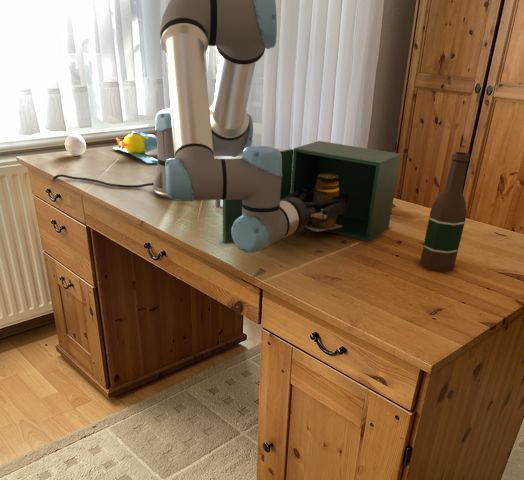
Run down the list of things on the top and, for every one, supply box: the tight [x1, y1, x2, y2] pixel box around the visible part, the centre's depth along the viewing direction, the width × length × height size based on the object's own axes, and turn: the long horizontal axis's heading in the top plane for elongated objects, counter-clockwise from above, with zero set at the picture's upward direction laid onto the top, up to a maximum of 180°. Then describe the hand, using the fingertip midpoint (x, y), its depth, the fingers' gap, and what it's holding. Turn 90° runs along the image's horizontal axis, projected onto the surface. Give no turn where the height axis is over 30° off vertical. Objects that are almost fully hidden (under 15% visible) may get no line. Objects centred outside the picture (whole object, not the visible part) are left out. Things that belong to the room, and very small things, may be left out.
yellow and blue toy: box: [112, 130, 158, 165], centre depth 199 cm, size 28×9×15 cm
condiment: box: [304, 174, 343, 233], centre depth 130 cm, size 7×8×12 cm
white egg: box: [64, 133, 87, 157], centre depth 194 cm, size 10×7×7 cm
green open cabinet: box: [291, 140, 402, 242], centre depth 137 cm, size 13×23×19 cm, turn 57°
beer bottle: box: [419, 151, 470, 273], centre depth 114 cm, size 8×8×24 cm
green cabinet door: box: [213, 148, 294, 244], centre depth 131 cm, size 6×23×18 cm, turn 137°
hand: (334, 195), depth 133 cm, fingers closed on condiment, 6 cm apart
